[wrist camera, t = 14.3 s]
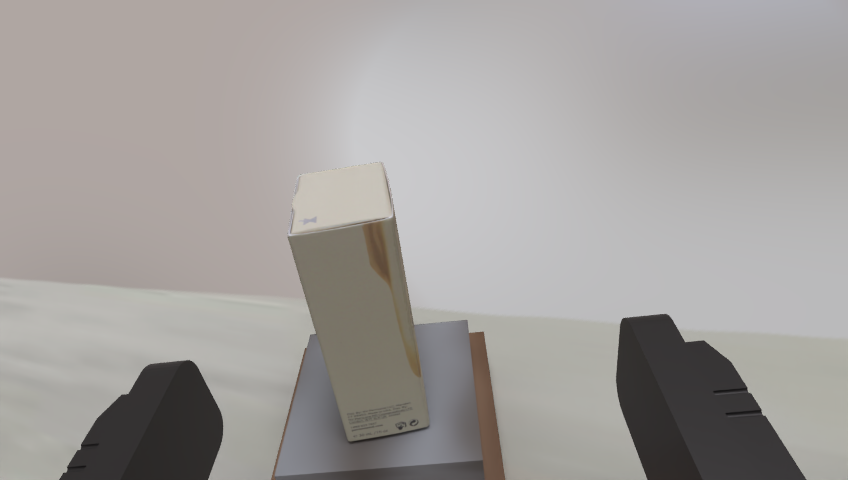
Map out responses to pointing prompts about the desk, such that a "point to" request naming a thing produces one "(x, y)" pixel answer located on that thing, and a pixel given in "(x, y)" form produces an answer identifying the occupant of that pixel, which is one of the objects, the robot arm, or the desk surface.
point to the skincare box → (359, 298)
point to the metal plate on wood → (407, 451)
